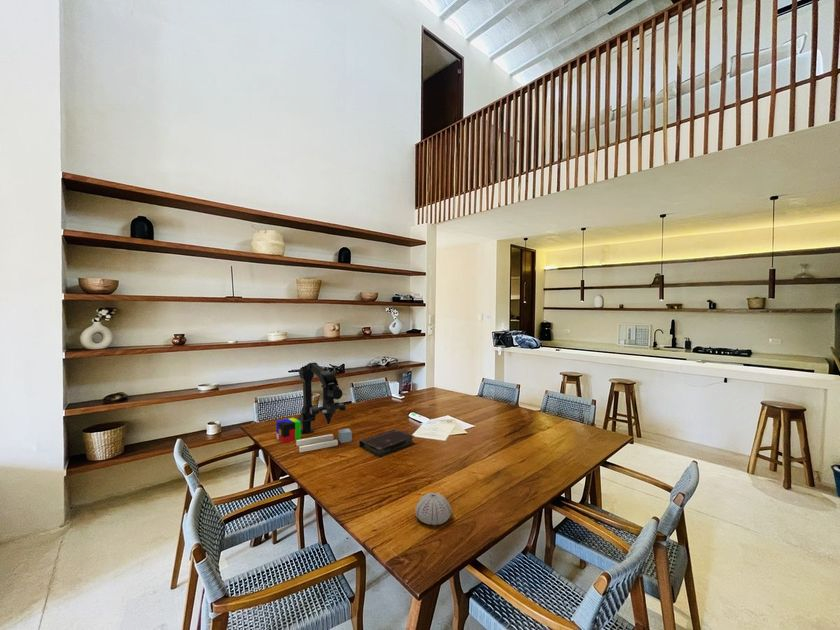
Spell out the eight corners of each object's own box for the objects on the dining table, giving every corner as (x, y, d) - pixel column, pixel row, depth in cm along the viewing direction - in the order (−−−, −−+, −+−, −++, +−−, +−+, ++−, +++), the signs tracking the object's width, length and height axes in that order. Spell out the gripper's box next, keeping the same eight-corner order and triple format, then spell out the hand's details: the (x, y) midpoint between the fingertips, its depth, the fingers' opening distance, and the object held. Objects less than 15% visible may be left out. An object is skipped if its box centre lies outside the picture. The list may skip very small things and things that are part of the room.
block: (338, 439, 197) (338, 430, 197) (348, 437, 200) (348, 428, 200) (341, 443, 192) (341, 433, 192) (351, 441, 195) (351, 431, 195)
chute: (296, 444, 189) (296, 440, 189) (332, 438, 199) (332, 433, 199) (299, 452, 179) (299, 447, 179) (337, 445, 189) (337, 440, 189)
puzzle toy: (276, 438, 198) (276, 421, 198) (293, 434, 205) (293, 417, 205) (283, 443, 191) (283, 425, 191) (300, 438, 198) (300, 421, 198)
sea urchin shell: (429, 533, 115) (429, 510, 115) (407, 514, 126) (407, 492, 126) (459, 519, 123) (459, 497, 123) (435, 502, 134) (435, 482, 134)
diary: (358, 448, 187) (358, 439, 187) (394, 436, 204) (394, 428, 204) (379, 458, 173) (379, 448, 173) (415, 445, 191) (415, 436, 191)
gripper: (313, 401, 180) (314, 431, 180) (348, 397, 189) (348, 425, 189) (309, 396, 189) (309, 424, 190) (343, 392, 198) (343, 419, 199)
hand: (328, 423), depth 191 cm, fingers closed
